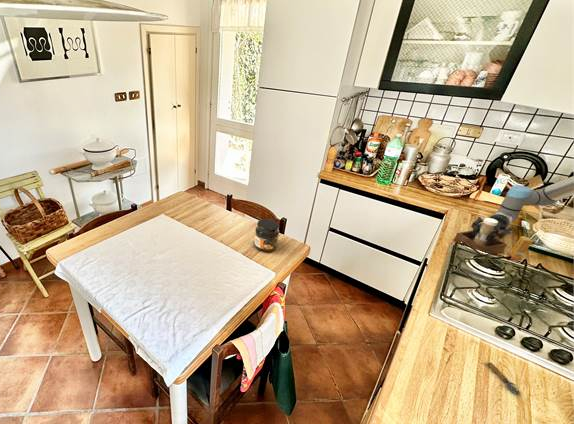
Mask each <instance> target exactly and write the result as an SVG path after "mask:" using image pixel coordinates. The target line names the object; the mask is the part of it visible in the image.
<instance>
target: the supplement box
mask: <svg viewBox="0 0 574 424" xmlns="http://www.w3.org/2000/svg"><path fill="white" fill-rule="evenodd" d="M533 242H534V241H533V240H532V238H530V237H529V236H523V235H521V236H520V237H519V239H518V240H517V241H516V243H515V244H514V245H513V247H512V249H511V250H510V252H509V253H508V255H509V256H510V257H511V259H514V260H515V259H516V260H522V258H523V256H524V255H525V254H526V253H527V251H528V249H529V248H530V246H531V245H532V243H533Z"/></svg>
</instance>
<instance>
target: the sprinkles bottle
mask: <svg viewBox="0 0 574 424" xmlns="http://www.w3.org/2000/svg"><path fill="white" fill-rule="evenodd" d="M483 220H484V221H483V222H482V223H483V224H482V226H481V227H480V229H479V231H478V233H477V235H476V237H475V239H474V241H475V242H477V243H479V244H481V245H483V246H485V243H486V242H487V240H485V239H486V237H487V235H488V234H490V233H491V232H492V231H494V230H493V229H494V227H495V226H496V225H497V223H498V221H497V220H495V219H492V218H489V217H485V218H484V219H483Z"/></svg>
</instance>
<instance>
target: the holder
mask: <svg viewBox="0 0 574 424" xmlns="http://www.w3.org/2000/svg"><path fill="white" fill-rule="evenodd" d="M472 233H473V229H471V230H466V231H460V232H457V233H456V234H455V236H454V238H453V241H454V242H456V243H457V244H459V243H461V242H465V243H466V244H468V245H470V246H472V247H474V248H476V249H478V250H480V251H482V252H485V253H488V254H490V255H494V254H500V253H504V251H505V249H506V247H507V246H508V244H507V243H506V242H503V241H501V240H500V239H499V238H498V239H497V237H495V238H490V239H489V240H487V242H486V243H485V246H483V245H481V244H479V243H477V242H475V241H474V239H475V237H476V235H477V233H476V234H475V235H472Z"/></svg>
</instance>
